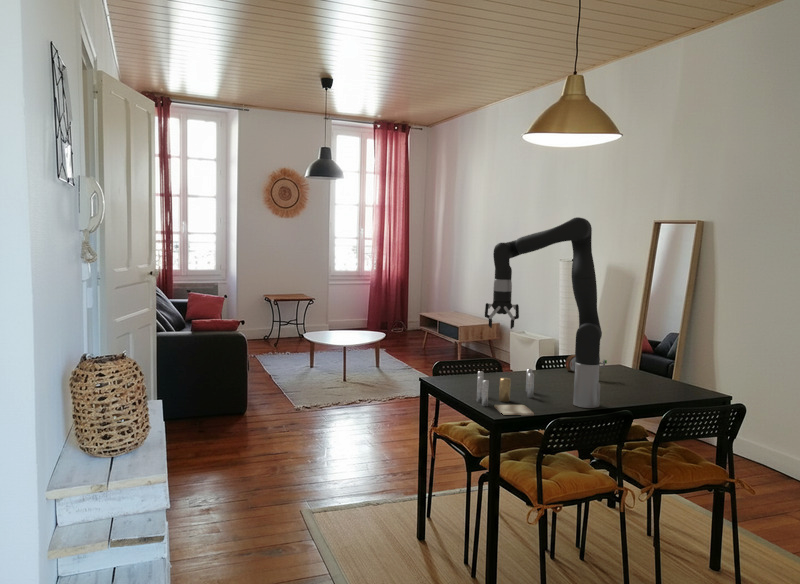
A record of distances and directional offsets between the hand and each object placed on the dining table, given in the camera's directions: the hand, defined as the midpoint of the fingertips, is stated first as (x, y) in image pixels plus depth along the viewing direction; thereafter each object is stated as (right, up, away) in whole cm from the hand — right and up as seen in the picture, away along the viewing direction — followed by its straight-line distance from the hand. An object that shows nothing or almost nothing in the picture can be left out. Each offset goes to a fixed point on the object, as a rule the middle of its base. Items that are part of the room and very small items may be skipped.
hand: (501, 328), depth 258 cm
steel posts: (+1, -29, -6) cm, 29 cm away
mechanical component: (+50, -27, +34) cm, 67 cm away
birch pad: (+1, -30, -25) cm, 39 cm away
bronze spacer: (0, -29, -10) cm, 30 cm away
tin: (+48, -25, +54) cm, 77 cm away
